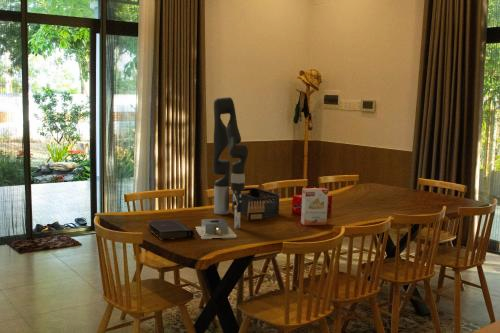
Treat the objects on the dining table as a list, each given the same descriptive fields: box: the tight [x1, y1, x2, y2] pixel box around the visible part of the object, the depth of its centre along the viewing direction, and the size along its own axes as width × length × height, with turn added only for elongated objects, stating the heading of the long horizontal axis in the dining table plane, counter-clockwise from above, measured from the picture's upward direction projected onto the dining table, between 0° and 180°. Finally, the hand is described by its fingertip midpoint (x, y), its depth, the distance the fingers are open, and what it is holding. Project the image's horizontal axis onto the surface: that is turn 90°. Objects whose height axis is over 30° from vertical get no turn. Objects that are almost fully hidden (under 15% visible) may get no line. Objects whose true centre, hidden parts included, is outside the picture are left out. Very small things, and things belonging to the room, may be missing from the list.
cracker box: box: [300, 187, 329, 226], centre depth 325 cm, size 14×6×21 cm, turn 105°
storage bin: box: [231, 187, 280, 219], centre depth 351 cm, size 29×19×13 cm
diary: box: [146, 219, 195, 239], centre depth 298 cm, size 19×25×5 cm
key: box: [233, 205, 241, 230], centre depth 312 cm, size 4×4×12 cm
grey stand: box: [195, 218, 238, 240], centre depth 300 cm, size 22×18×6 cm
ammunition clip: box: [246, 199, 266, 222], centre depth 331 cm, size 11×2×12 cm, turn 111°
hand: (237, 210), depth 311 cm, fingers open, 8 cm apart
